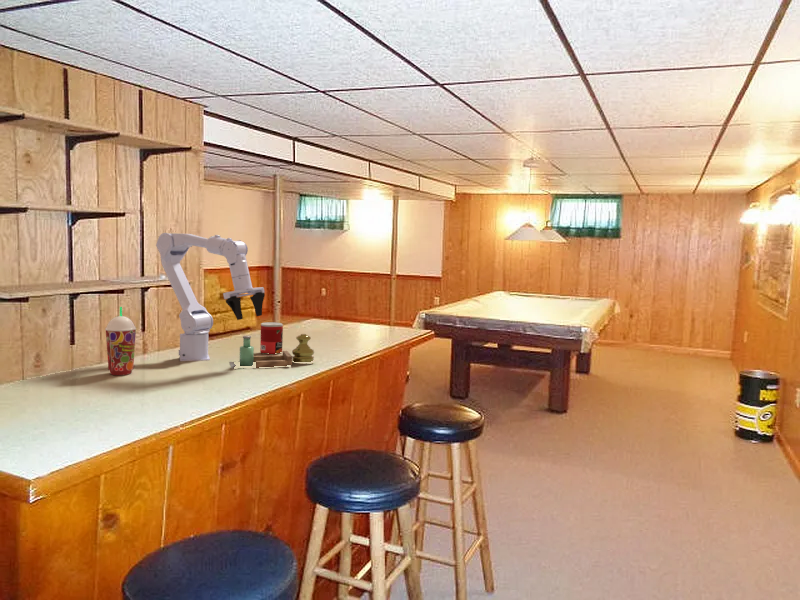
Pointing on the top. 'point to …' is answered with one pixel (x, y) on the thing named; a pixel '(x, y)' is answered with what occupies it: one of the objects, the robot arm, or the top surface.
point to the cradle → (271, 360)
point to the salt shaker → (303, 350)
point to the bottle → (246, 352)
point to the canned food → (271, 337)
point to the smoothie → (120, 345)
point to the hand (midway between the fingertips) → (249, 317)
